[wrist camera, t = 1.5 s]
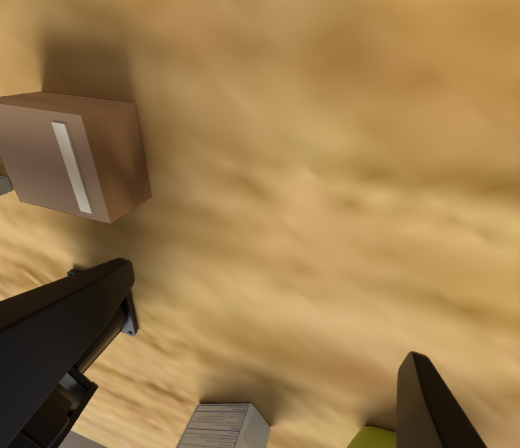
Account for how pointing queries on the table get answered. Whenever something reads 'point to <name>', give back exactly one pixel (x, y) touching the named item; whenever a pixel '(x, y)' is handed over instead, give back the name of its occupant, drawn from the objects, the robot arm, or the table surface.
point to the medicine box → (225, 427)
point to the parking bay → (5, 185)
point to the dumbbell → (374, 438)
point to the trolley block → (74, 154)
